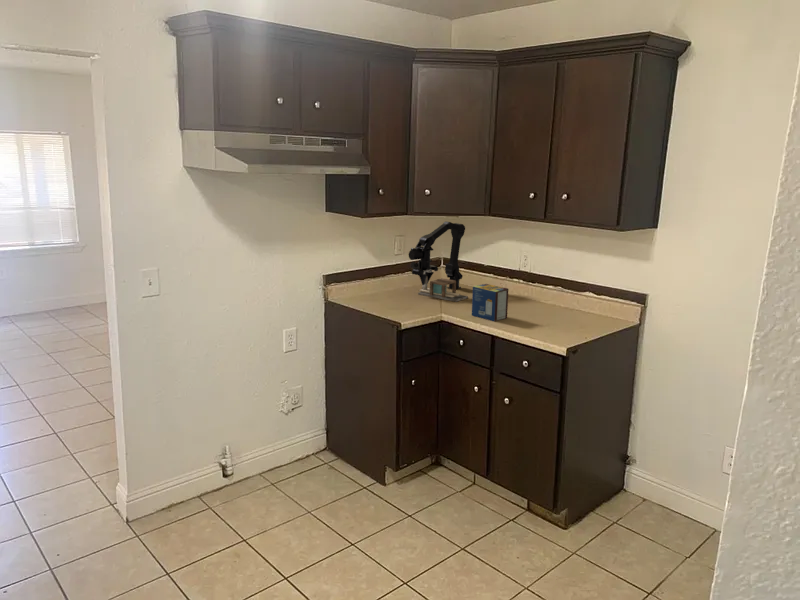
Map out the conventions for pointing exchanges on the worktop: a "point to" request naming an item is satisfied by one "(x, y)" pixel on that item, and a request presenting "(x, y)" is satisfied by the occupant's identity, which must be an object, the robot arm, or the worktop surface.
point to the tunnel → (443, 290)
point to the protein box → (490, 302)
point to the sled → (427, 290)
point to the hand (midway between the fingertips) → (424, 284)
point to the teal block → (438, 288)
